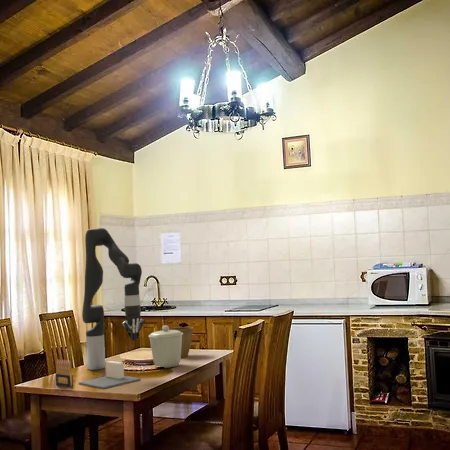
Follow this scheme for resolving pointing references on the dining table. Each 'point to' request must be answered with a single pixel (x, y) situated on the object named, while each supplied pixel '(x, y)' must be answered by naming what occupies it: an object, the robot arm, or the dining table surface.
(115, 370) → the cream block
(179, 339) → the canister
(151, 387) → the dining table surface
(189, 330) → the plant pot
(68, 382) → the ammunition clip
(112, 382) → the rubber mat
